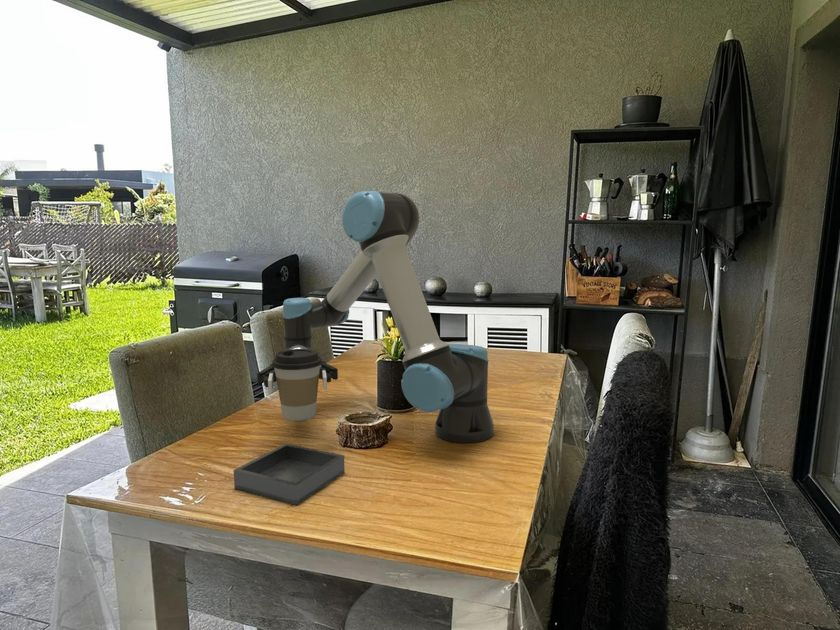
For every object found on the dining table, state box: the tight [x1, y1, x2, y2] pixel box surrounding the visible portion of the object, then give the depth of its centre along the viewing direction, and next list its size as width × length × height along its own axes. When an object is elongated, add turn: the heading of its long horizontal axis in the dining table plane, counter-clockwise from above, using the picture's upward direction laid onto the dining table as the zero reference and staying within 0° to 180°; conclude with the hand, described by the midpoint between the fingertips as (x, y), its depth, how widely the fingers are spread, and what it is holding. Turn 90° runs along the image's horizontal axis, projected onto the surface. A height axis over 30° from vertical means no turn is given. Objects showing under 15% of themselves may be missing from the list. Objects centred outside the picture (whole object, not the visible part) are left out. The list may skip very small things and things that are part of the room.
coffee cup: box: [271, 348, 323, 422], centre depth 128 cm, size 11×11×15 cm
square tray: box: [233, 443, 345, 506], centre depth 117 cm, size 16×16×4 cm
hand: (297, 384), depth 124 cm, fingers closed on coffee cup, 11 cm apart
